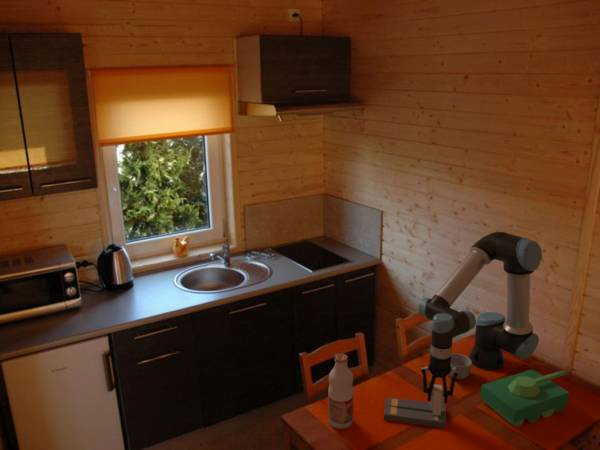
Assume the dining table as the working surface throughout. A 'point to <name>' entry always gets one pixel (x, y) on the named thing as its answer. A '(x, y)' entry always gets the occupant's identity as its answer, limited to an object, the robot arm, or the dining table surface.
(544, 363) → the dining table surface
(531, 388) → the toy tank
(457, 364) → the teacup
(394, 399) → the panel
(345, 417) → the fruit juice
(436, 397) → the block
